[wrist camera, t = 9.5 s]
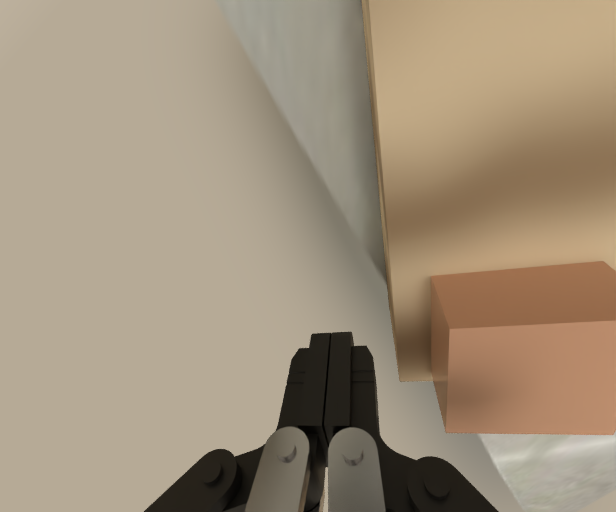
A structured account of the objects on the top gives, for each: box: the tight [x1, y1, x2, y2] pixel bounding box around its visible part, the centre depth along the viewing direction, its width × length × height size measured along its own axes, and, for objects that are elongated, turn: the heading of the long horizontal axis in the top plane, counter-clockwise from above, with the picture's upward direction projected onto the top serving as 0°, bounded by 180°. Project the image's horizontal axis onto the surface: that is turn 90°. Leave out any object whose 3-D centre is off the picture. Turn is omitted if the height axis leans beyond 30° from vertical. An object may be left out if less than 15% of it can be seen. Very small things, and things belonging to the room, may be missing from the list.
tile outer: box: [431, 261, 616, 435], centre depth 10 cm, size 5×5×2 cm
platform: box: [361, 0, 616, 382], centre depth 10 cm, size 18×10×5 cm, turn 11°
